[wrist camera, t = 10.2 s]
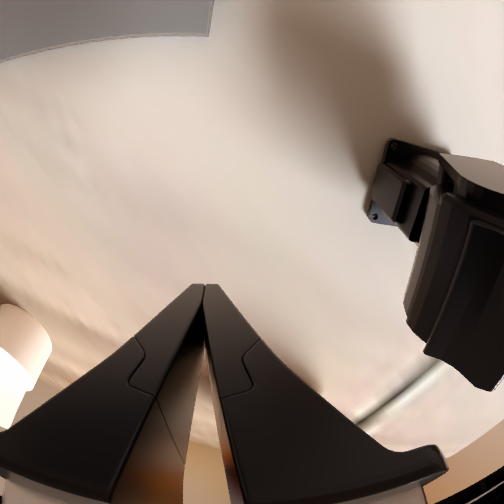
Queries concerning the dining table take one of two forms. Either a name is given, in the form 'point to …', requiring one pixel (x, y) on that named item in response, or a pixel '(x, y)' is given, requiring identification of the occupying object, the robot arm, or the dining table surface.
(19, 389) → the cream cylindrical piece
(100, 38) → the slate board
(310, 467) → the robot arm
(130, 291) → the dining table surface
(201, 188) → the dining table surface
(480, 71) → the dining table surface
